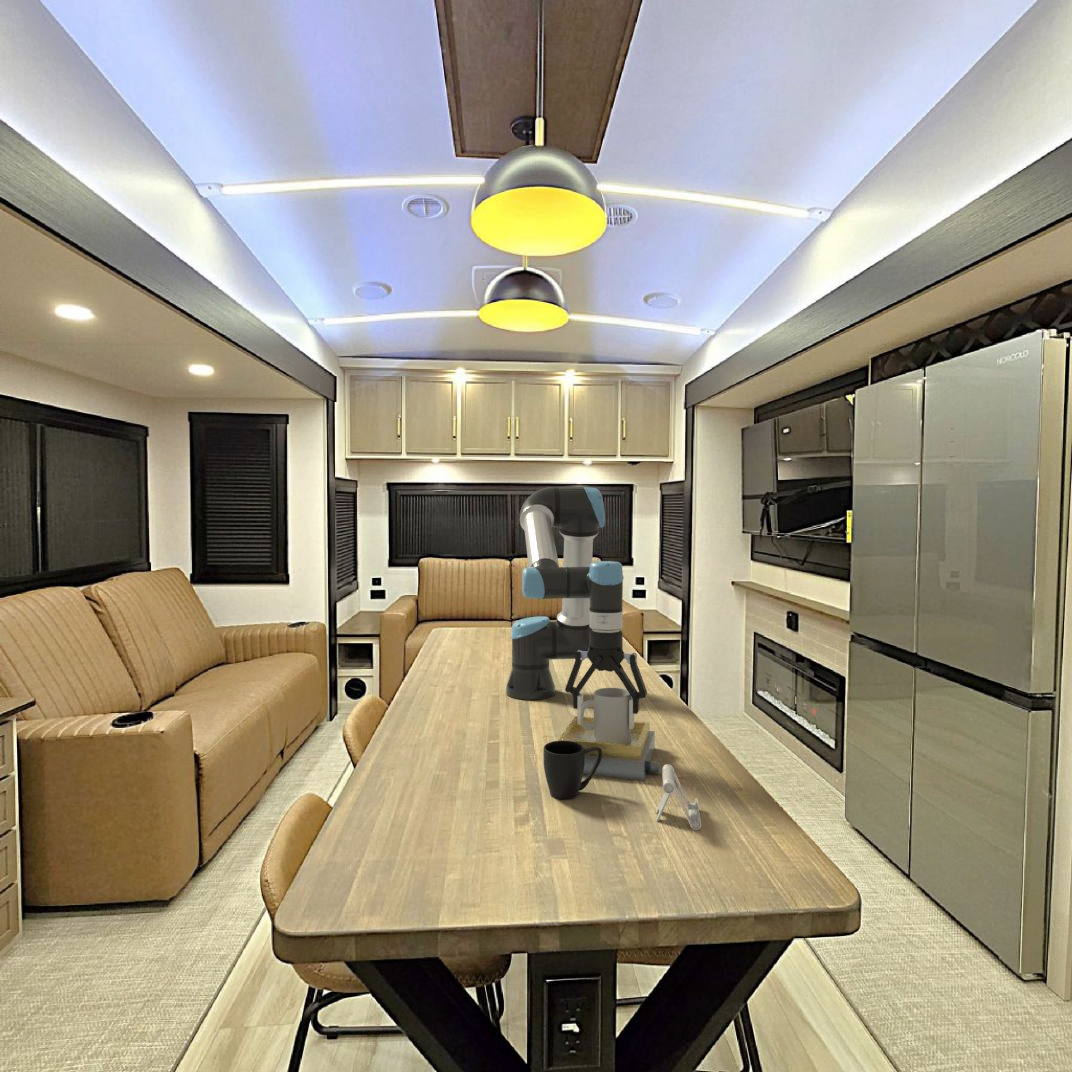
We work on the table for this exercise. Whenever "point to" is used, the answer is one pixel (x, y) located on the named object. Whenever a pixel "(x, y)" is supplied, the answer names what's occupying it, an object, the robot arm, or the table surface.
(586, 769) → the yellow and grey tray
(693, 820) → the portable electronic device stand
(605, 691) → the mug
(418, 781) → the table surface
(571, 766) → the mug
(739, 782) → the table surface
